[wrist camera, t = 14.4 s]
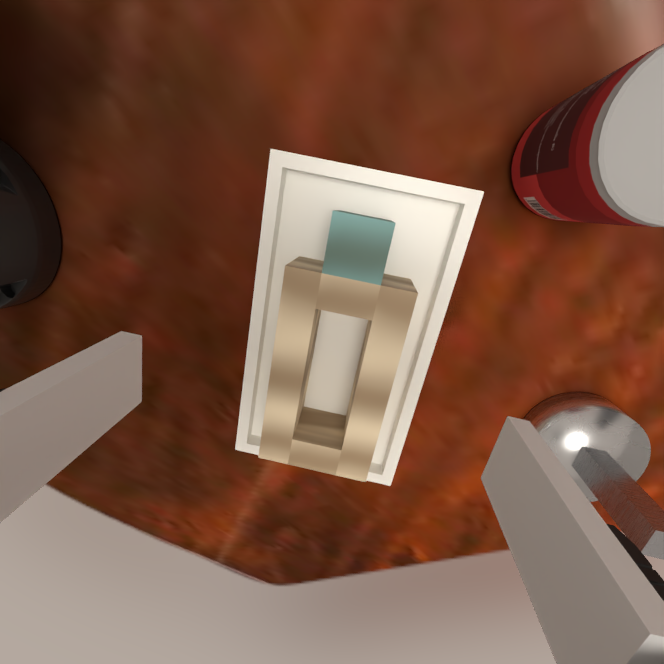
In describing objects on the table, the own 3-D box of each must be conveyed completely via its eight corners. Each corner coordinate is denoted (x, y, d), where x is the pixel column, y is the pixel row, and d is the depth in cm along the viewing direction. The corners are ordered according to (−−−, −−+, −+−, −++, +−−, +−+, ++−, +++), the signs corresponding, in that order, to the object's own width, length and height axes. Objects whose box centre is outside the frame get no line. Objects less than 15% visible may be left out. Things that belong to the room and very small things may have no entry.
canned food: (623, 210, 26) (794, 212, 15) (506, 228, 27) (591, 241, 16) (635, 88, 23) (846, -8, 13) (506, 114, 24) (604, 45, 14)
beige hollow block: (307, 203, 27) (293, 202, 22) (424, 227, 27) (435, 231, 22) (274, 422, 34) (258, 457, 29) (366, 443, 33) (365, 482, 29)
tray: (243, 435, 36) (235, 449, 34) (278, 153, 27) (270, 148, 25) (389, 469, 35) (390, 485, 33) (475, 193, 26) (484, 191, 24)
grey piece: (502, 464, 34) (559, 578, 23) (539, 381, 30) (624, 471, 20) (597, 486, 33) (699, 612, 23) (644, 405, 30) (787, 507, 20)
